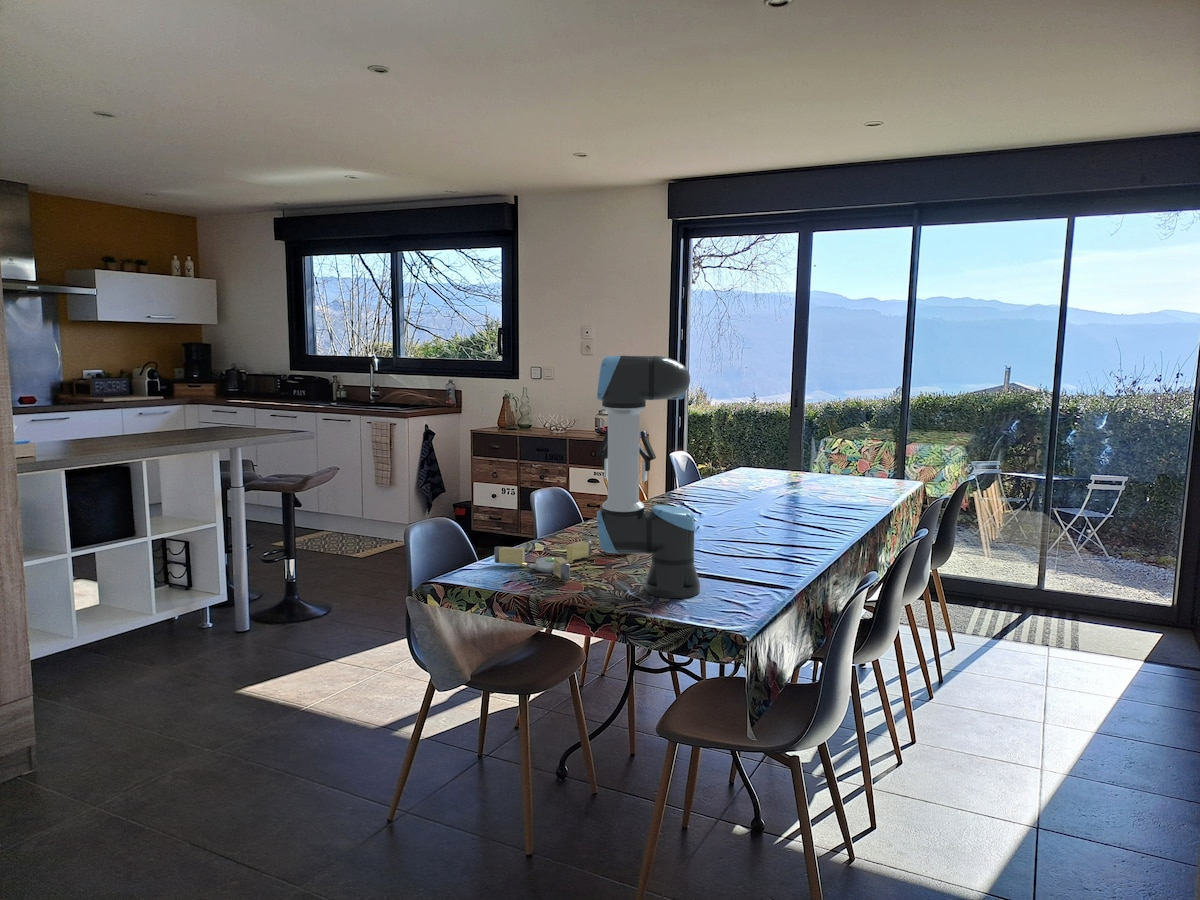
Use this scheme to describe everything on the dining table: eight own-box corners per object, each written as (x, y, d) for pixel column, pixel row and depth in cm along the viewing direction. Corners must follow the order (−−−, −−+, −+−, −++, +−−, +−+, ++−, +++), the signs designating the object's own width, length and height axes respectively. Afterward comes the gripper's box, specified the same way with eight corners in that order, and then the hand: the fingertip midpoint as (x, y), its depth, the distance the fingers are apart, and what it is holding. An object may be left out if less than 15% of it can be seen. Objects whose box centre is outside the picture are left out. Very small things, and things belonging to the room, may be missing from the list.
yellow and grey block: (528, 565, 246) (527, 548, 245) (525, 567, 243) (525, 550, 242) (496, 563, 248) (496, 546, 247) (493, 565, 245) (493, 548, 244)
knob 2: (570, 563, 248) (570, 546, 247) (564, 562, 249) (564, 545, 249) (592, 557, 255) (592, 540, 255) (586, 556, 257) (586, 539, 256)
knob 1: (552, 574, 235) (552, 556, 235) (561, 574, 236) (561, 555, 236) (562, 584, 226) (562, 565, 225) (570, 583, 226) (570, 564, 226)
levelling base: (559, 574, 236) (559, 563, 236) (524, 572, 238) (524, 561, 238) (569, 564, 248) (569, 554, 247) (535, 562, 250) (535, 552, 250)
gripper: (665, 416, 259) (665, 480, 262) (596, 413, 270) (596, 475, 272) (657, 417, 253) (657, 483, 255) (587, 415, 263) (586, 478, 265)
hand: (625, 479), depth 264 cm, fingers open, 13 cm apart
